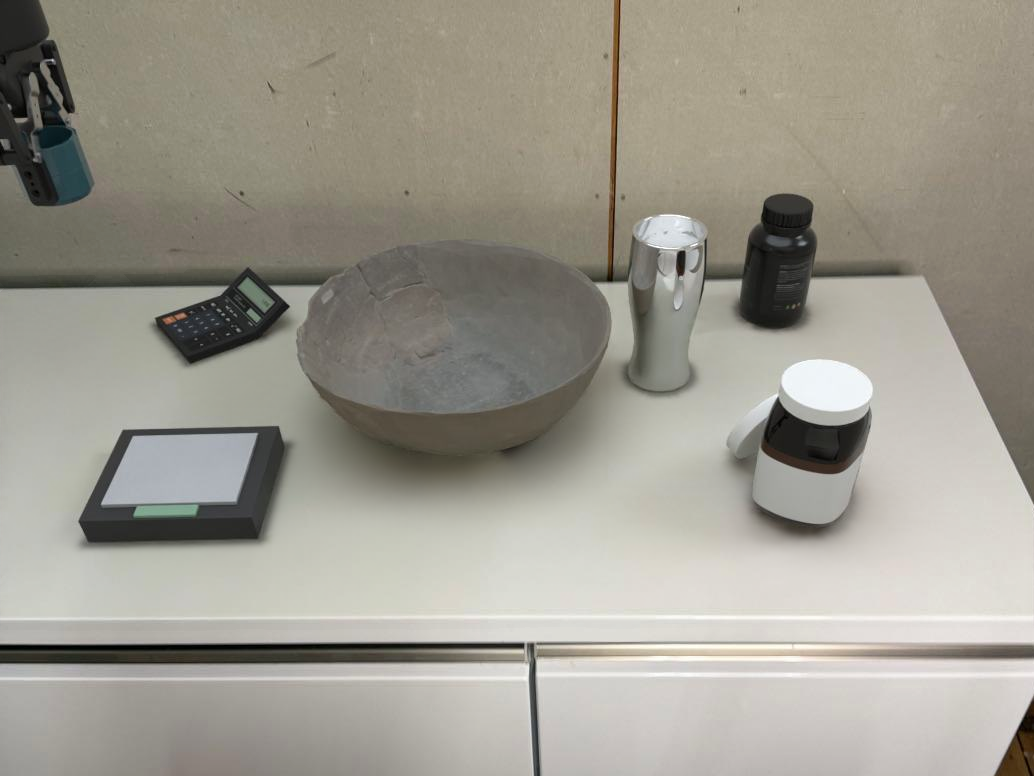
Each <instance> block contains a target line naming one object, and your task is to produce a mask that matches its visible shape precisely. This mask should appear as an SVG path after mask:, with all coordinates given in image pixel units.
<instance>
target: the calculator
mask: <svg viewBox="0 0 1034 776" xmlns="http://www.w3.org/2000/svg"><path fill="white" fill-rule="evenodd" d="M290 308H291V306H290V305H289V303H287V301H285V300H284V298H283V297H281V296H280V295H279V294H278V293H277V292H276V291H275V290H274V289H273V288H271V287H270V286H269V285H268V284H267V283H266V282H265V281H264V280H263V279H262V278H261V277H259V276H258V275H257V274H256V273H255V271H254V270H252V269H251V268H250V267H249V266H247V267H246V268H245V269H244V271H242V272H241V274H239V275H238V276H237V277H236V279H234V280H233V281H232V282H231V284H230V285H229V286H228V287H227V288H226V289H225V290H224V291H223V292H222V293H221V294H220V295H217V296H214V297H211V298H208V299H206V300H202V301H200V302H197V303H194V304H191V305H187V306H185V307H182V308H178V309H176V310H173V311H170V312H168V313H165V314H162V315H159V316H157V317H154V321H155V324H156V325H157V326H158V328H159V329H160V330H161V331H162V332H163V334H164V335H165V336H166V337H167V338H168V340H169V341H170V342H171V343H172V344H173V345H174V347H175V348H176V349H177V350H178V351H179V353H181V355H182V356H183V357H184V358H185V360H186V361H188V363H189V364H190V365H191V364H194V363H196V362H199V361H202V360H204V359H207V358H209V357H212V356H215V355H217V354H220V353H224V352H226V351H228V350H232V349H234V348H237V347H239V346H242V345H245V344H248V343H250V342H253V341H256V340H259V339H260V337H262V336H263V335H264V334H265V332H267V331H268V330H269V329H270V328H271V327H272V326H273V325H274V324H275V322H277V321H278V320H279V319H280V318H281V317H282V316H283V315H284V314H285V313H286V312H287V311H288V310H289V309H290Z"/></svg>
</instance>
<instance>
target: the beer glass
mask: <svg viewBox="0 0 1034 776" xmlns="http://www.w3.org/2000/svg"><path fill="white" fill-rule="evenodd" d="M631 231H632V234H631V235H632V236H631V241H630V243H631V244H630V248H629V255H628V256H629V257H628V265H627V266H628V268H627V293H628V294H627V295H628V304H629V311H630V318H631V325H632V331H633V346H632V352H631V355H630V359H629V363H628V369H627V376H628V378H629V380H630V381H631V382H632V383H633V384H634V385H635V386H636V387H638V388H640V389H643V390H646V391H649V392H655V393H656V392H657V393H660V392H661V393H662V392H663V393H664V392H671V391H675V390H677V389H680V388H682V387H683V386H685V385H686V384H687V383H688V381H689V380H690V378H691V367H690V359H689V348H690V340H691V336H692V332H693V329H694V325H695V322H696V319H697V316H698V312H699V310H700V306H701V302H702V298H703V294H704V290H705V283H706V277H707V263H708V262H707V260H708V234H709V231H708V227H707V226H706V225H705V224H704V223H703V222H701V220H698V219H697V218H694V217H692V216H688V215H683V214H680V213H679V214H677V213H659V214H653V215H649V216H646V217H642V219H640V220H638V221H637V222H636V223H635V224H634V225H633V227H632V230H631Z"/></svg>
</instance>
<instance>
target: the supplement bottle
mask: <svg viewBox="0 0 1034 776" xmlns="http://www.w3.org/2000/svg"><path fill="white" fill-rule="evenodd" d="M813 214H814V203H813V202H812V200H810V199H809V198H808V197H806V196H803V195H800V194H795V193H790V192H789V193H787V192H786V193H785V192H784V193H783V192H782V193H776V194H772V195H769V196H767V197H766V198H765V199H764V200H763V206H762V211H761V214H760V222H758V223H757V224H756V225H754V226H753V227H752V229H750V231H749V233H748V237H747V244H746V249H745V256H744V257H745V258H744V264H743V272H742V279H741V285H740V286H741V287H740V293H739V300H738V301H739V302H738V309H739V312H740V314H741V315H742V317H743V318H744V319H746V320H747V321H748V322H749V323H752V324H754V325H757V326H759V327H765V328H785V327H788V326H791V325H793V324H796V323H797V322H798V321H799V320H801V318H803V315H804V313H805V310H806V304H807V300H808V295H809V291H810V285H811V280H812V274H813V269H814V264H815V258H816V254H817V249H818V237H817V234H816V232H815V231H814V229H813V228H812V227H811V226H812V223H813Z"/></svg>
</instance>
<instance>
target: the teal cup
mask: <svg viewBox="0 0 1034 776" xmlns="http://www.w3.org/2000/svg"><path fill="white" fill-rule="evenodd" d="M22 136H23V138H24V140H25V143H26V145H27V147H28V143H27V137H26V134H22ZM39 141H40V147H41V152H42V160H44V161H45V163H46V166H47V168H48V171H49V173H50V176H51V178H52V181H53V184H54V186H55V189H56V191H57V194H58V196H59V200H58V202H57V203H56V204H55V205H54V206H46V208H47V207H48V208H51V207H62V206H66V205H67V206H68V205H70V204H74V203H77V202H79V201H81V200H83V199H85V198H86V197H88V196H89V195H90V194H91V192H92V189H93V188H94V187H95V184H96V182H95V179H94V176H93V173H92V171H91V168H90V165H89V162H88V160H87V156H86V154H85V151H84V148H83V146H82V142H81V140H80V137H79V134H78V132H77V129H75V128H74V127H72V126H71V127H70V126H65V125H43V131H42V132H41V133H40V134H39ZM2 145H3V147H4V149H5V146H4V141H2ZM10 166H11V168H12V171H13V173H14V177H15V178H16V180H17V183H18V185H19V188H20V190H21V192H22V195H23V197H24V198H25V199H26V200H27V201H29V202H31V201H30V198H29V196H28V193H27V191H26V189H25V186H24V184H23V181H22V179H21V177H20V174H19V172H18V169H17V167H16V166H15V165H10Z"/></svg>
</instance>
